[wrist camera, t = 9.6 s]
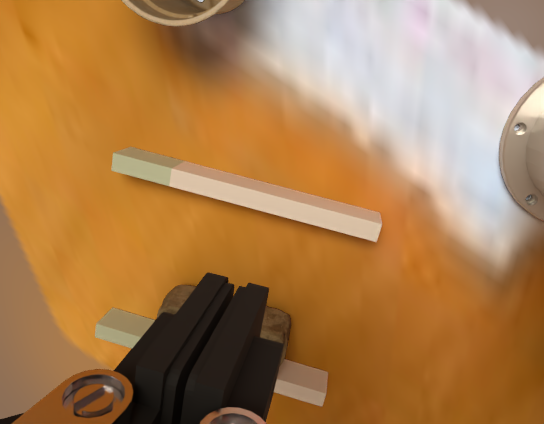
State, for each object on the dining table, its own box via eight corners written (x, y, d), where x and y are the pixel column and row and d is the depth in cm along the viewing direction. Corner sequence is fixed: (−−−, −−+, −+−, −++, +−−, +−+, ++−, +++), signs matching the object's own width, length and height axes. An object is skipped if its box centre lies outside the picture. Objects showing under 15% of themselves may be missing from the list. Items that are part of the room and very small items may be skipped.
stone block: (174, 276, 40) (155, 304, 36) (295, 307, 40) (293, 340, 35) (164, 328, 42) (145, 362, 38) (281, 358, 42) (276, 396, 37)
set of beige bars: (379, 212, 36) (382, 224, 33) (324, 384, 42) (322, 406, 39) (130, 146, 38) (113, 152, 35) (111, 320, 44) (94, 337, 41)
